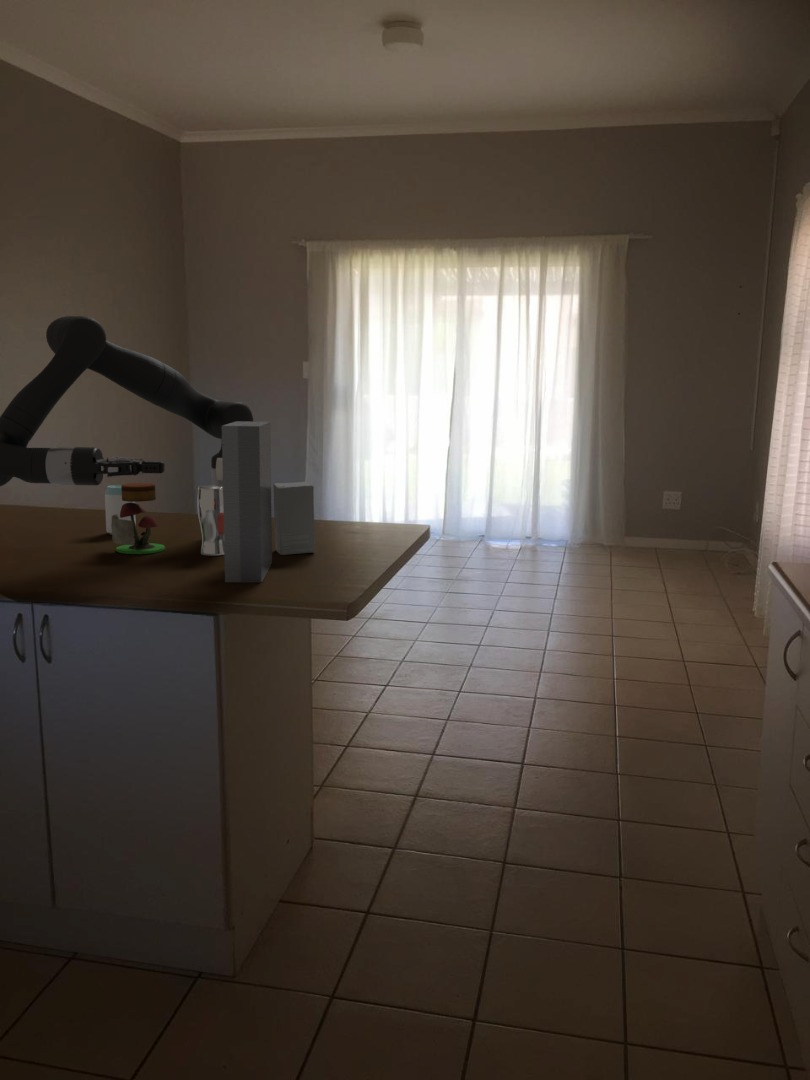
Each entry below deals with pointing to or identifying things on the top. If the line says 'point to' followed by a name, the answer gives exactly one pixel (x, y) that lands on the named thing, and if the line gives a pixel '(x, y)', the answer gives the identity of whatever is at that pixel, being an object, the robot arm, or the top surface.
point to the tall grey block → (247, 500)
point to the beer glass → (210, 519)
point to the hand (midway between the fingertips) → (163, 467)
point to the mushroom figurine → (127, 529)
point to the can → (114, 505)
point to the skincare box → (294, 518)
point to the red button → (220, 523)
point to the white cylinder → (219, 469)
